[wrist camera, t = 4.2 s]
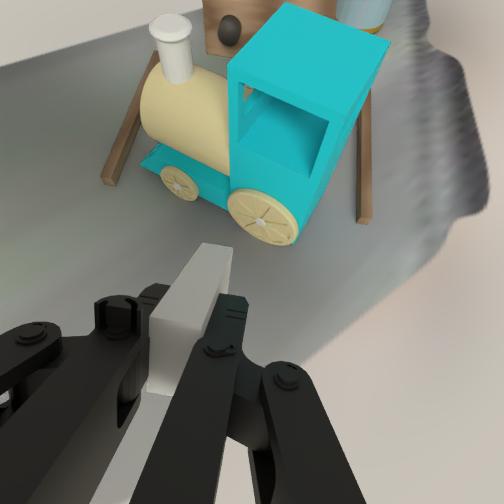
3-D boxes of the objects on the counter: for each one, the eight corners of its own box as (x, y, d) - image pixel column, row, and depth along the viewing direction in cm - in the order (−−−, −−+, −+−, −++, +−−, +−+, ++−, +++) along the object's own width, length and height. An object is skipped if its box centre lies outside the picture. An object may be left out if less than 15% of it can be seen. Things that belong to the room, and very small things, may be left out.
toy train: (183, 124, 34) (147, -60, 20) (324, 192, 31) (395, 34, 17) (136, 176, 31) (56, 1, 17) (288, 256, 28) (339, 126, 14)
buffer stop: (204, 62, 37) (198, 5, 32) (211, 38, 39) (208, -20, 34) (320, 79, 37) (335, 25, 32) (322, 54, 39) (337, -1, 34)
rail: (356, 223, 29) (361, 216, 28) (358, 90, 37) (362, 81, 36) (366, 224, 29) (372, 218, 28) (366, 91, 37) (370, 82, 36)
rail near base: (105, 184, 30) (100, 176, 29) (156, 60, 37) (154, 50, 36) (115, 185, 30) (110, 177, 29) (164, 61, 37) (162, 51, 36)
